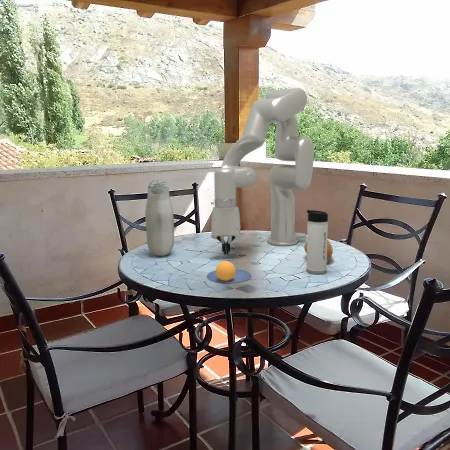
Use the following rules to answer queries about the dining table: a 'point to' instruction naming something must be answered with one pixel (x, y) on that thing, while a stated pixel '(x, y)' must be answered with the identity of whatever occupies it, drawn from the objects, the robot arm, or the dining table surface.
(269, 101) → the robot arm
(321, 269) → the travel mug
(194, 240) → the dining table surface
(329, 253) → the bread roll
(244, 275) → the disc
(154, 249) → the grey beige bottle
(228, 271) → the ball
